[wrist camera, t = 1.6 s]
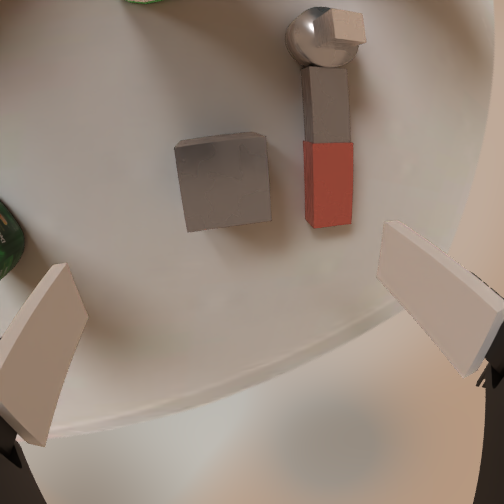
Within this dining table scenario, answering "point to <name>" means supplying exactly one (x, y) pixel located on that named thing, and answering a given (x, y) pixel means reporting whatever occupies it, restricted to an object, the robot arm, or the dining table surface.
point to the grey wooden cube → (224, 180)
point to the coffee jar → (9, 241)
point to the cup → (143, 1)
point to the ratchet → (326, 109)
